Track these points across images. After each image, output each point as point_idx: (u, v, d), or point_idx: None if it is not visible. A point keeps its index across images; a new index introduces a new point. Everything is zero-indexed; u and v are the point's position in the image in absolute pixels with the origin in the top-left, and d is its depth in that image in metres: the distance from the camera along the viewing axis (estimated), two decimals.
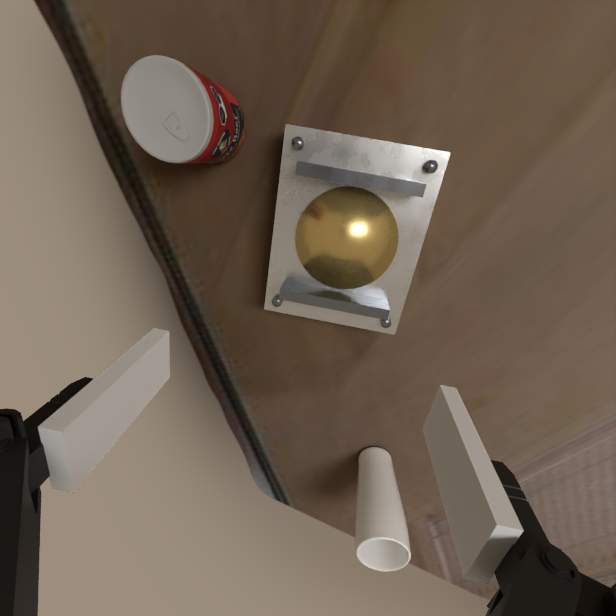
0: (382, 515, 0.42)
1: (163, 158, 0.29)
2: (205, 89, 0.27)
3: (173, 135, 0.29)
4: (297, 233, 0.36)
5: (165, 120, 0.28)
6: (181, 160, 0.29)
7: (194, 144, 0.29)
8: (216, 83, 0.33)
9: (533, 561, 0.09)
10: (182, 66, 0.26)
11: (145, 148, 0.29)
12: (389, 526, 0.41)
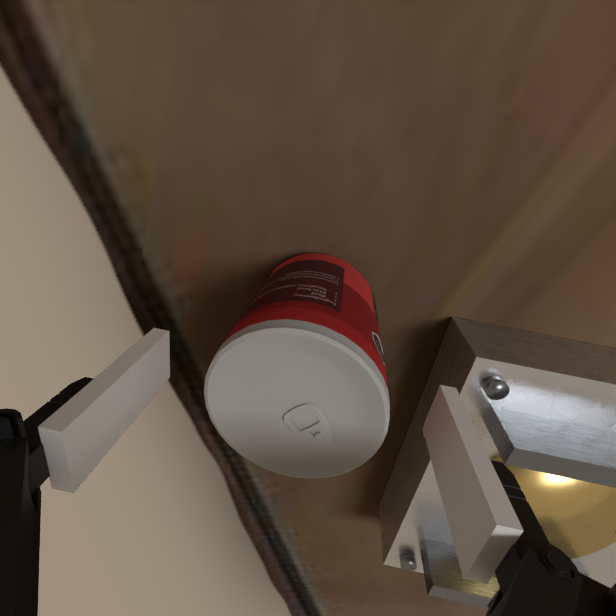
0: None
1: (279, 472, 0.15)
2: (382, 375, 0.13)
3: (302, 438, 0.15)
4: None
5: (290, 418, 0.14)
6: (314, 477, 0.15)
7: (344, 457, 0.15)
8: (348, 275, 0.19)
9: (533, 561, 0.09)
10: (346, 351, 0.12)
11: (245, 455, 0.15)
12: None
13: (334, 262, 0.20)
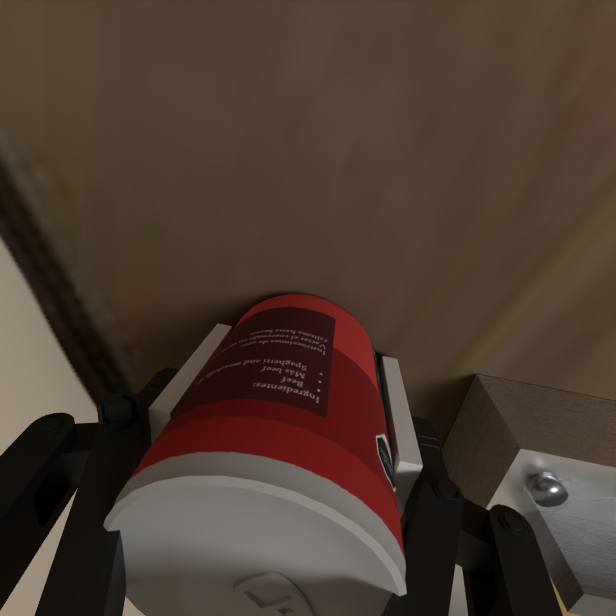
0: None
1: None
2: (396, 536, 0.08)
3: (266, 615, 0.09)
4: None
5: (245, 591, 0.09)
6: None
7: None
8: (340, 332, 0.14)
9: (427, 493, 0.10)
10: (334, 516, 0.07)
11: None
12: None
13: (322, 310, 0.15)
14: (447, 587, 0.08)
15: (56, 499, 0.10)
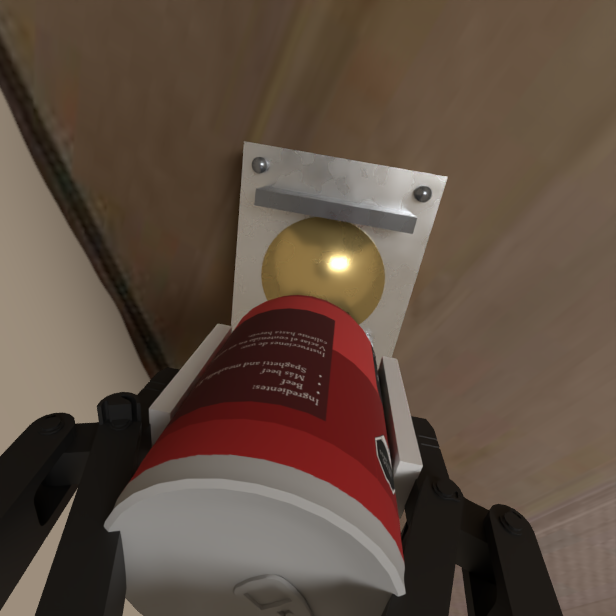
0: None
1: None
2: (395, 538, 0.08)
3: None
4: (263, 270, 0.30)
5: (245, 593, 0.09)
6: None
7: None
8: (340, 333, 0.14)
9: (427, 493, 0.10)
10: (333, 519, 0.07)
11: None
12: None
13: (321, 312, 0.15)
14: (447, 587, 0.08)
15: (56, 499, 0.10)
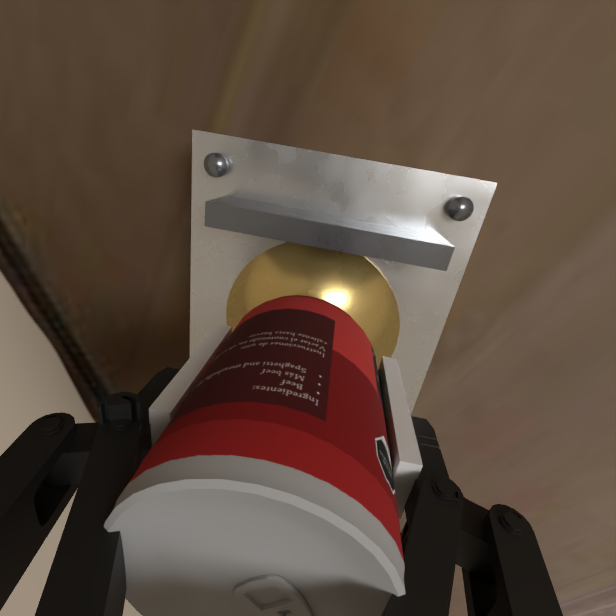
0: None
1: None
2: (395, 539, 0.08)
3: None
4: (229, 313, 0.21)
5: (245, 593, 0.09)
6: None
7: None
8: (339, 333, 0.14)
9: (427, 493, 0.10)
10: (333, 520, 0.07)
11: None
12: None
13: (321, 312, 0.15)
14: (447, 587, 0.08)
15: (56, 499, 0.10)
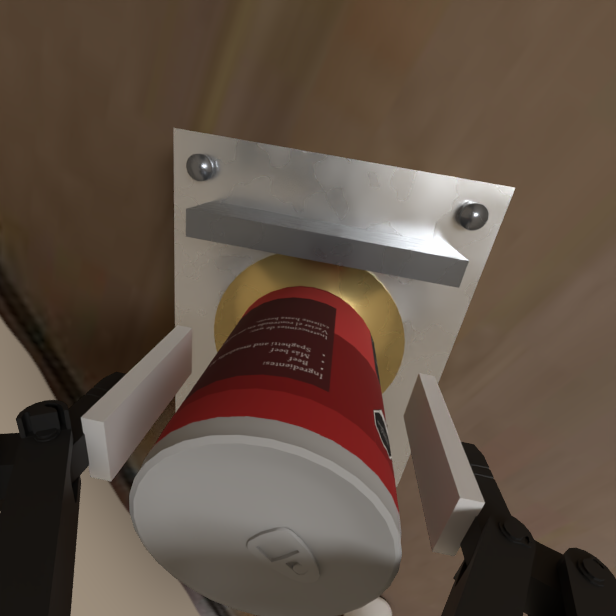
0: None
1: (244, 611, 0.11)
2: (391, 493, 0.09)
3: (275, 569, 0.10)
4: (217, 329, 0.20)
5: (257, 545, 0.10)
6: None
7: (335, 596, 0.10)
8: (341, 320, 0.15)
9: (492, 532, 0.09)
10: (337, 470, 0.08)
11: (195, 589, 0.11)
12: None
13: (323, 301, 0.16)
14: None
15: None
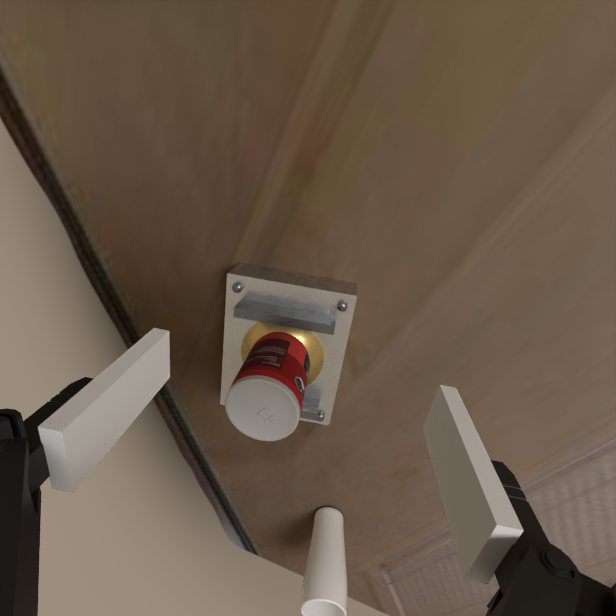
0: (323, 577, 0.49)
1: (256, 438, 0.35)
2: (295, 396, 0.34)
3: (265, 423, 0.35)
4: (242, 350, 0.44)
5: (260, 414, 0.34)
6: (271, 440, 0.35)
7: (283, 430, 0.35)
8: (291, 347, 0.39)
9: (533, 561, 0.09)
10: (279, 387, 0.33)
11: (242, 431, 0.35)
12: (328, 588, 0.48)
13: (285, 339, 0.40)
14: None
15: None
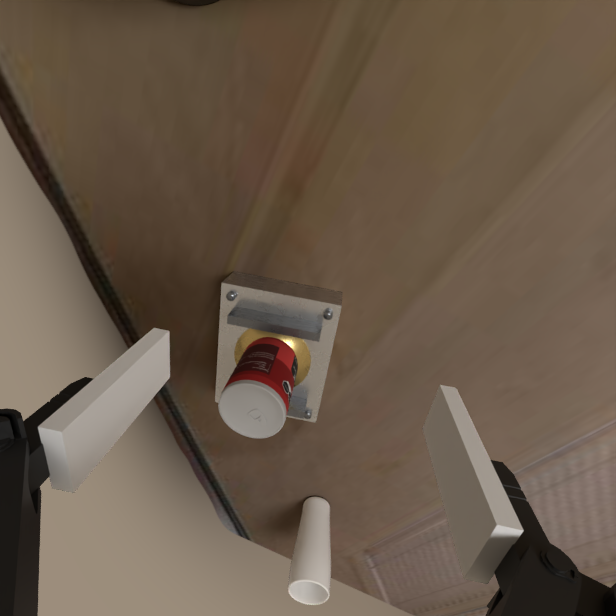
0: (309, 560, 0.54)
1: (246, 435, 0.39)
2: (282, 398, 0.37)
3: (255, 422, 0.38)
4: (235, 352, 0.48)
5: (250, 414, 0.38)
6: (260, 437, 0.39)
7: (271, 429, 0.38)
8: (280, 352, 0.43)
9: (533, 561, 0.09)
10: (267, 391, 0.36)
11: (233, 429, 0.39)
12: (313, 570, 0.53)
13: (275, 344, 0.44)
14: None
15: None
